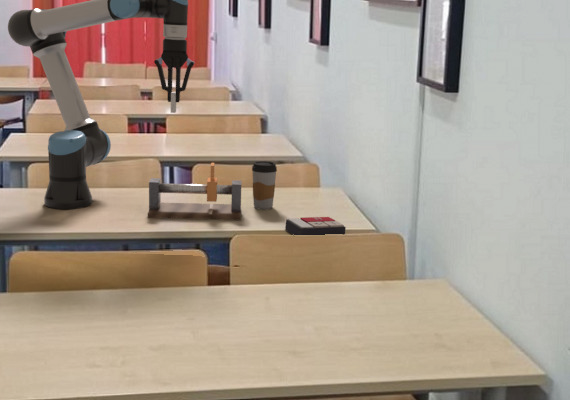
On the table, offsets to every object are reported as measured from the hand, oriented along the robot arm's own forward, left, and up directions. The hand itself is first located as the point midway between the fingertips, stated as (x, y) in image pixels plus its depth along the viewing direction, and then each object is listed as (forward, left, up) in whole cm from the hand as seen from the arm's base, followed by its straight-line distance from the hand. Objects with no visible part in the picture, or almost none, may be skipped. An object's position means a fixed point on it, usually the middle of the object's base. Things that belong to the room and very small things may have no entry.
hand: (173, 112), depth 266 cm
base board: (+8, -11, -31) cm, 34 cm away
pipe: (+8, -11, -29) cm, 32 cm away
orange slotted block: (+13, -11, -26) cm, 31 cm away
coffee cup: (+30, -1, -31) cm, 43 cm away
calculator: (+45, -30, -32) cm, 63 cm away
